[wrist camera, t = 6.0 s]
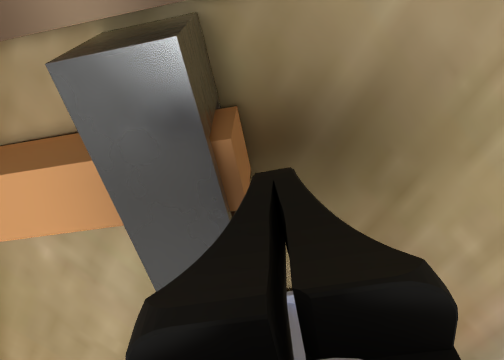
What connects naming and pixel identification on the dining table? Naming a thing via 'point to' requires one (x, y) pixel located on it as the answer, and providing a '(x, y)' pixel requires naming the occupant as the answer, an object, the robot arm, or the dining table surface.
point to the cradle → (62, 13)
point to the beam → (151, 136)
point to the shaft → (91, 182)
